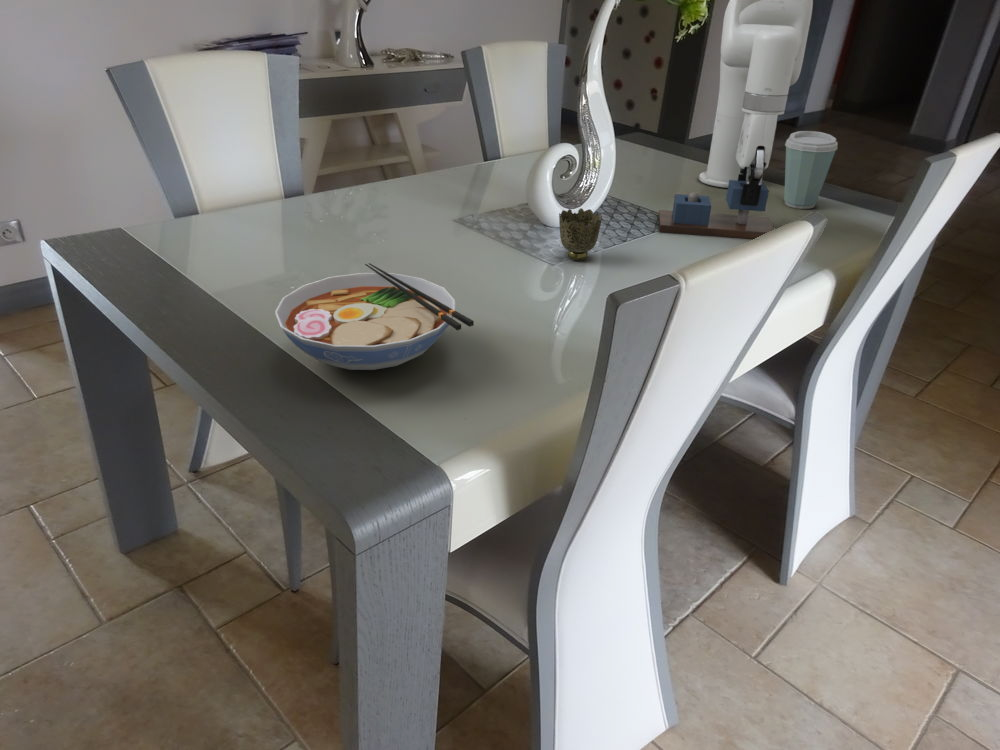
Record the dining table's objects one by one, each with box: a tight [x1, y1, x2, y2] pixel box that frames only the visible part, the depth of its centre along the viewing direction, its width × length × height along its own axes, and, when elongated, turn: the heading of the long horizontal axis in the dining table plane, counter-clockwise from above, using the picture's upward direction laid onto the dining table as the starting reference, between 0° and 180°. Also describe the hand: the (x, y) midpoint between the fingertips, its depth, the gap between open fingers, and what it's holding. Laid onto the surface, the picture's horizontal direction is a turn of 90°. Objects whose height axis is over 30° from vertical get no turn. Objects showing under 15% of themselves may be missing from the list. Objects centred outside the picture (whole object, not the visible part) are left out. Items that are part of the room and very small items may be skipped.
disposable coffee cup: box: [783, 130, 839, 210], centre depth 161 cm, size 11×11×15 cm
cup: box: [558, 207, 603, 262], centre depth 130 cm, size 8×7×8 cm
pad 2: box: [725, 180, 770, 212], centre depth 145 cm, size 7×7×4 cm
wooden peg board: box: [657, 191, 775, 240], centre depth 147 cm, size 10×22×7 cm, turn 81°
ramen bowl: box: [274, 262, 475, 371], centre depth 97 cm, size 25×23×8 cm
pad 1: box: [672, 193, 712, 226], centre depth 148 cm, size 7×7×4 cm
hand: (746, 199), depth 145 cm, fingers closed on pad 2, 6 cm apart
